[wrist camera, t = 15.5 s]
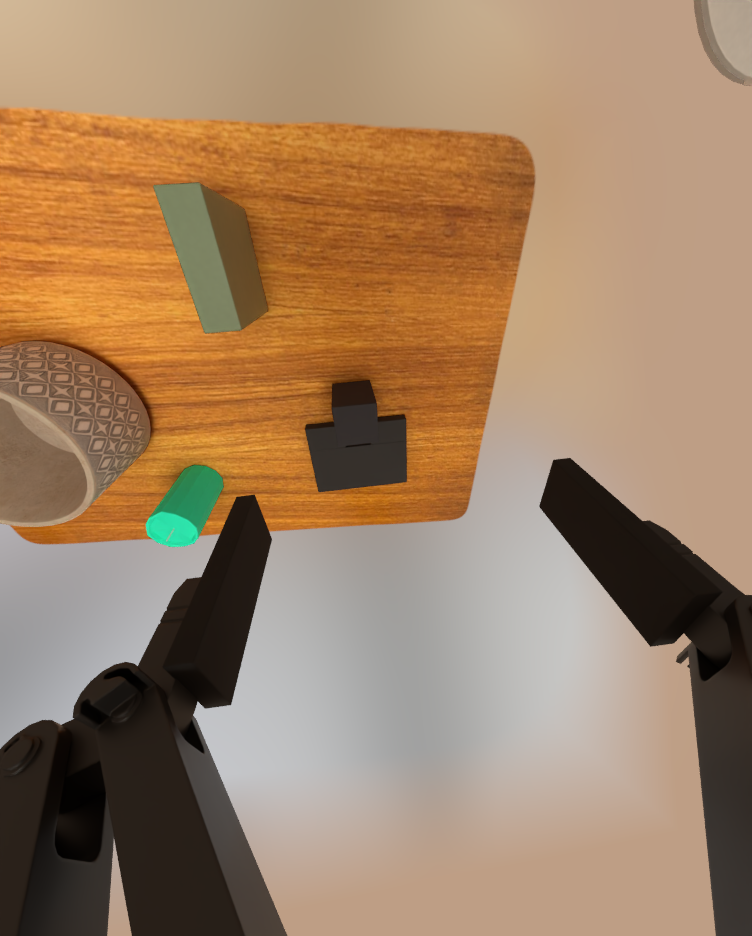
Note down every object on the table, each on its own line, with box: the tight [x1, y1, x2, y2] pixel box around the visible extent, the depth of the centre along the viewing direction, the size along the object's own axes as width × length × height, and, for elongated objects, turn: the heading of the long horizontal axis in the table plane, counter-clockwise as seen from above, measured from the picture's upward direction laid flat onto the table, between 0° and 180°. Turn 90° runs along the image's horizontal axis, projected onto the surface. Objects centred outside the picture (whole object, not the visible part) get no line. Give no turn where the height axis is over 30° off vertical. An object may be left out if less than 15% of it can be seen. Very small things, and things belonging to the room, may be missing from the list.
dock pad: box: [305, 415, 407, 492], centre depth 46 cm, size 14×11×2 cm
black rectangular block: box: [332, 380, 379, 447], centre depth 39 cm, size 5×8×8 cm, turn 4°
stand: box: [153, 182, 268, 333], centre depth 27 cm, size 3×9×12 cm, turn 4°
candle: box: [146, 465, 224, 547], centre depth 42 cm, size 6×6×12 cm
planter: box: [0, 341, 151, 527], centre depth 33 cm, size 16×16×13 cm
